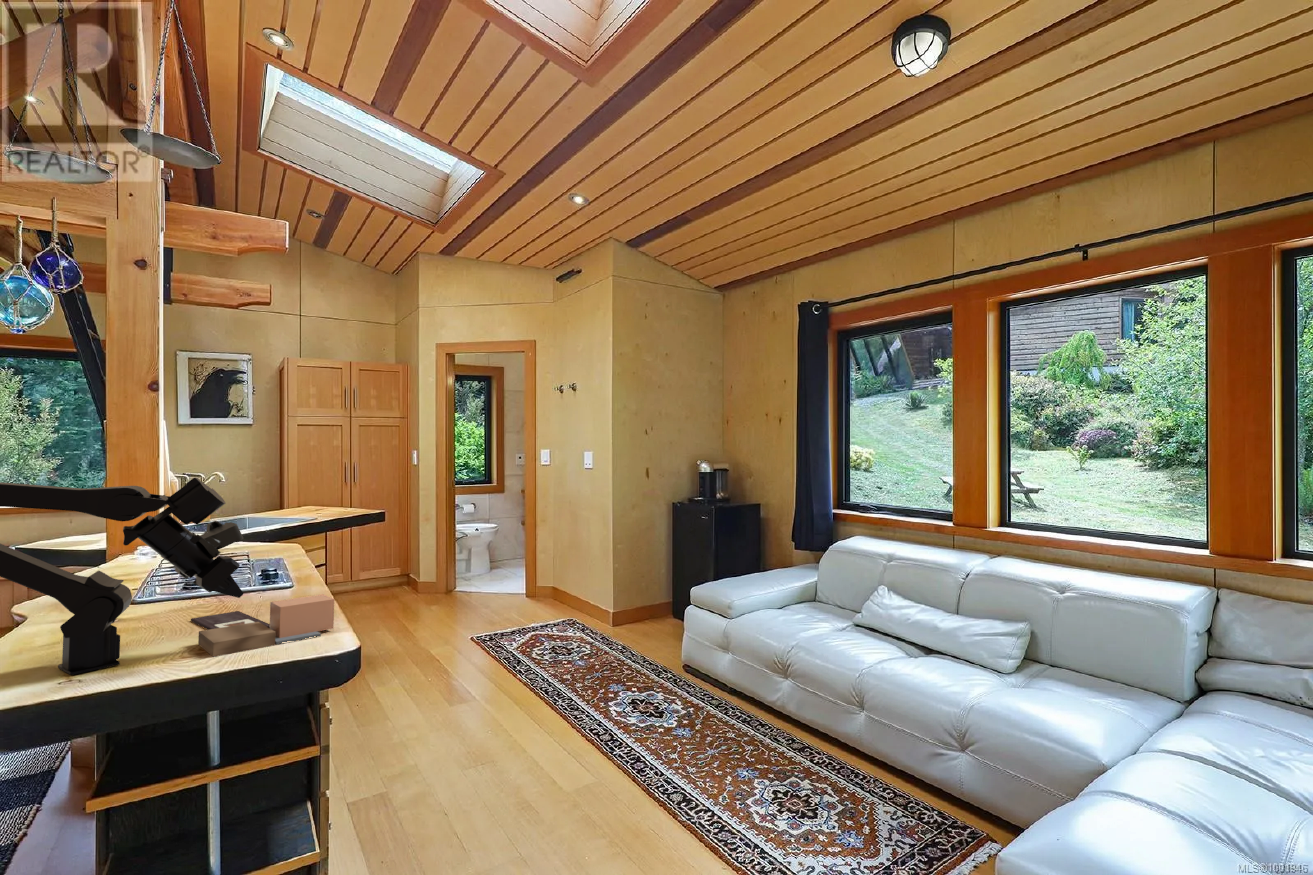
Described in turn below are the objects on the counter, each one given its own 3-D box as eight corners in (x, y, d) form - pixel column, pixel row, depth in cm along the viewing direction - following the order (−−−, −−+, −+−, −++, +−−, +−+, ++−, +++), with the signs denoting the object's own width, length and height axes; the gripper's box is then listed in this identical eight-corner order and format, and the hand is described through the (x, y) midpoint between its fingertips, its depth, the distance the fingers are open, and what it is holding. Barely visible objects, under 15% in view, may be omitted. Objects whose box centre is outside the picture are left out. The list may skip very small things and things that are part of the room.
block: (280, 607, 125) (334, 599, 132) (270, 601, 129) (323, 594, 136) (279, 638, 125) (333, 628, 132) (269, 631, 129) (322, 622, 136)
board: (213, 656, 115) (213, 642, 115) (198, 644, 121) (198, 631, 121) (275, 645, 122) (275, 631, 122) (258, 634, 129) (258, 621, 129)
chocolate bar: (238, 610, 144) (272, 625, 133) (238, 615, 144) (272, 630, 133) (190, 618, 137) (223, 634, 126) (190, 623, 137) (223, 639, 126)
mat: (276, 644, 122) (276, 641, 122) (259, 633, 129) (259, 630, 129) (320, 636, 128) (320, 633, 128) (302, 626, 135) (302, 623, 135)
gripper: (229, 513, 113) (293, 569, 121) (199, 504, 125) (259, 556, 133) (171, 562, 107) (243, 618, 115) (145, 548, 119) (212, 600, 127)
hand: (241, 595), depth 122 cm, fingers closed
